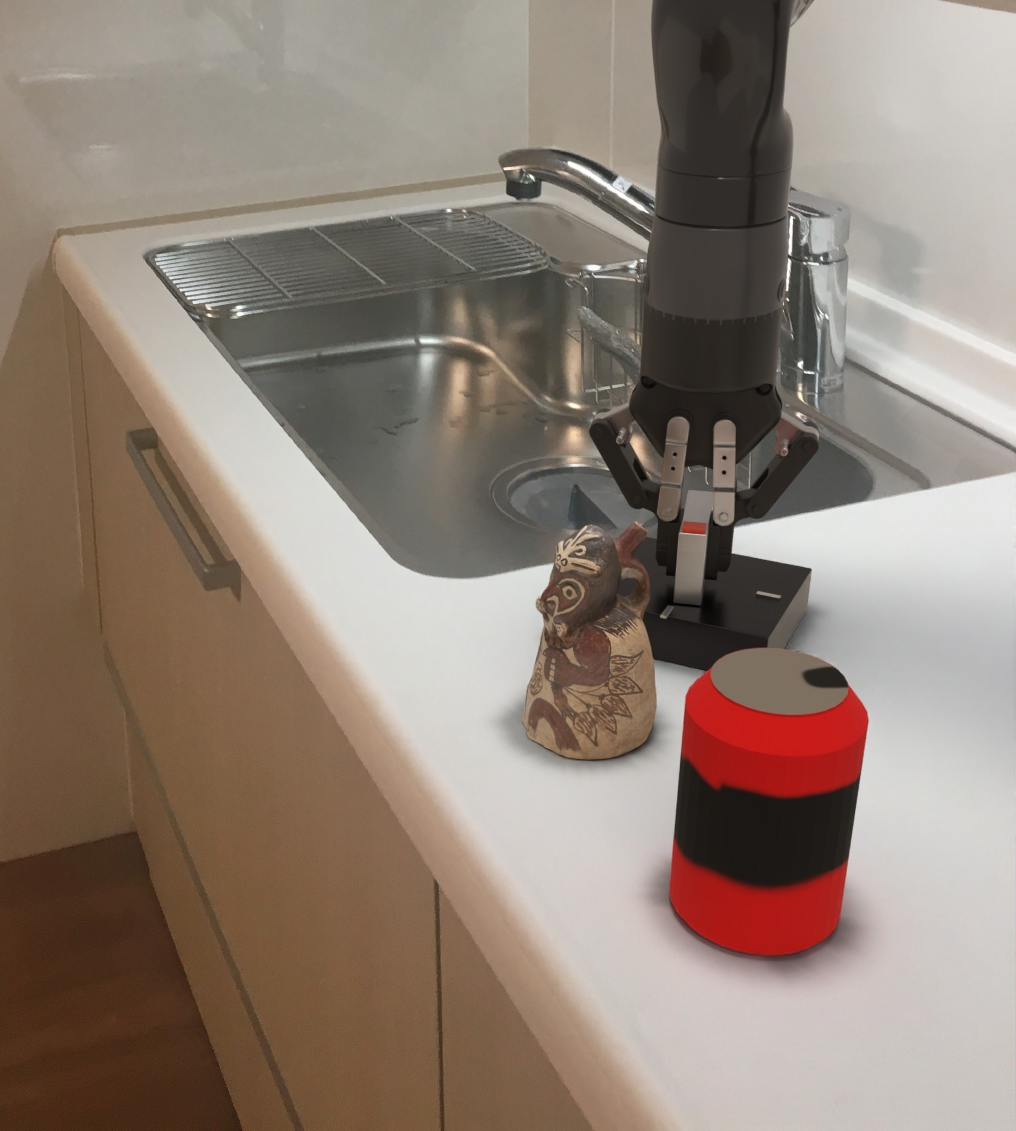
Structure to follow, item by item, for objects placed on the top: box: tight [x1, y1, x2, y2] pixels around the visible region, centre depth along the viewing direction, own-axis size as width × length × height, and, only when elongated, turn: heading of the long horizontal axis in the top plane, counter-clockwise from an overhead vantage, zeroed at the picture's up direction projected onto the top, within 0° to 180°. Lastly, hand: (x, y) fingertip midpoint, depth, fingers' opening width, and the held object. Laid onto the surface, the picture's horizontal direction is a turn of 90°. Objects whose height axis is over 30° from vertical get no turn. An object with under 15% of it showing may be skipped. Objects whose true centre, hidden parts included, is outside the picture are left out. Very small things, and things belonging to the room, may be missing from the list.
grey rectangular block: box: [673, 489, 713, 605], centre depth 93 cm, size 6×2×5 cm, turn 162°
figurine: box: [521, 521, 658, 760], centre depth 83 cm, size 7×7×12 cm
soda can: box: [668, 648, 870, 957], centre depth 68 cm, size 8×8×12 cm
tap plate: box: [616, 536, 813, 671], centre depth 95 cm, size 12×11×3 cm
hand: (691, 571), depth 94 cm, fingers closed on grey rectangular block
